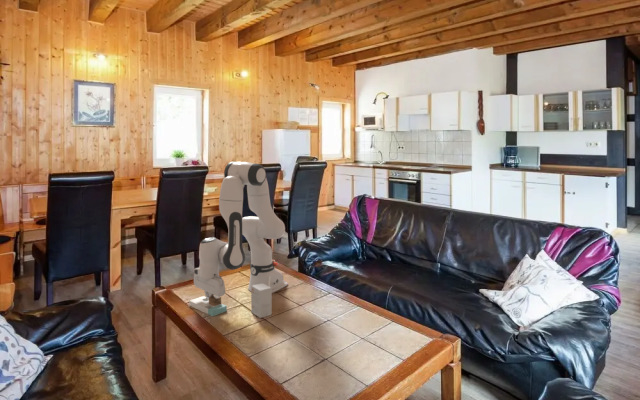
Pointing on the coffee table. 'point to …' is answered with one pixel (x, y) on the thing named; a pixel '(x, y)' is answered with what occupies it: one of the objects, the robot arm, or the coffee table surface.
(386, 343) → the coffee table surface
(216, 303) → the block
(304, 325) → the coffee table surface
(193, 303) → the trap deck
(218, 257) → the robot arm
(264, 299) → the small box
